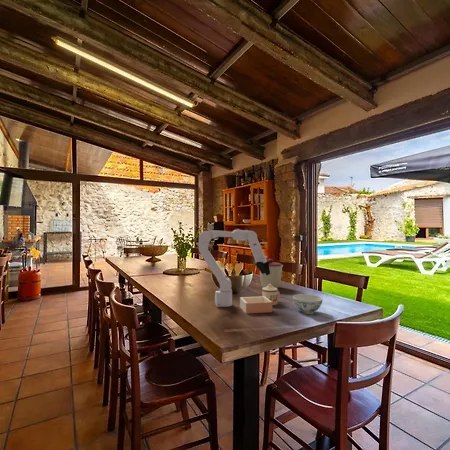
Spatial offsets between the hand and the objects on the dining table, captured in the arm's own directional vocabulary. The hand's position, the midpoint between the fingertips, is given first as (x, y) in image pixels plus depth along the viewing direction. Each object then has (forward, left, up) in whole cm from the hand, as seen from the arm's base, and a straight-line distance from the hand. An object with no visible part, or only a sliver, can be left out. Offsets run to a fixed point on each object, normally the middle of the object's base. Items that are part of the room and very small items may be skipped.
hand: (266, 274), depth 160 cm
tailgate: (-8, -13, -17) cm, 23 cm away
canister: (+20, +47, -18) cm, 54 cm away
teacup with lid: (+5, +4, -18) cm, 20 cm away
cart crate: (-8, -7, -18) cm, 21 cm away
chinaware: (+18, -14, -18) cm, 29 cm away
